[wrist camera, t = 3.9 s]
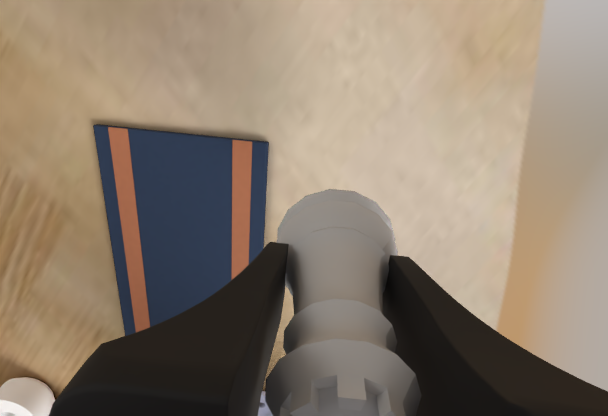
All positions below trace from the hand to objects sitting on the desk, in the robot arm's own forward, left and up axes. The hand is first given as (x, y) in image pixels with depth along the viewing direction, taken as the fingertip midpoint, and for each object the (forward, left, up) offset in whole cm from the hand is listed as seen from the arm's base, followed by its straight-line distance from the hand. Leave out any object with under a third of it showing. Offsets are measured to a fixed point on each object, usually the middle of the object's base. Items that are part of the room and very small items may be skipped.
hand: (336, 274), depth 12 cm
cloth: (-5, +8, -8) cm, 13 cm away
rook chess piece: (0, 0, -2) cm, 2 cm away
